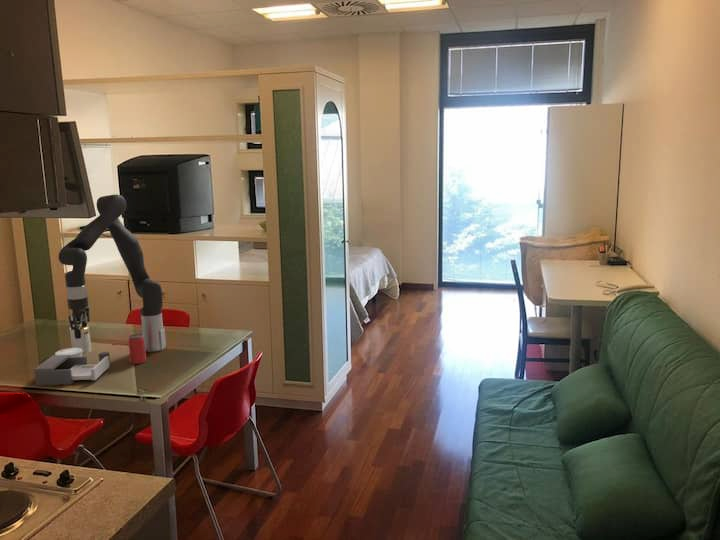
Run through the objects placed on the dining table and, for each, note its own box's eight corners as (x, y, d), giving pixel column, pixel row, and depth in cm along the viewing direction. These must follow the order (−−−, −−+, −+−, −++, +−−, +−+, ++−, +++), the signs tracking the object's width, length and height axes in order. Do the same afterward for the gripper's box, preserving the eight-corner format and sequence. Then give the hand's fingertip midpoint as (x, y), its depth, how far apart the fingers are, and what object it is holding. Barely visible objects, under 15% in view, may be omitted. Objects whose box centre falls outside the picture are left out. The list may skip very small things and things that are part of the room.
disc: (91, 330, 246) (90, 325, 246) (85, 334, 240) (84, 329, 240) (76, 330, 246) (76, 325, 245) (70, 334, 240) (69, 330, 240)
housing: (88, 369, 255) (86, 354, 253) (71, 384, 239) (69, 367, 238) (55, 370, 254) (53, 355, 253) (36, 385, 238) (34, 369, 237)
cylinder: (112, 362, 263) (110, 351, 262) (108, 365, 259) (107, 355, 258) (102, 362, 263) (100, 352, 262) (98, 366, 258) (96, 355, 257)
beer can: (131, 365, 259) (128, 339, 256) (129, 360, 264) (127, 335, 262) (147, 362, 262) (144, 336, 259) (145, 358, 267) (142, 332, 265)
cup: (84, 354, 274) (81, 329, 272) (68, 353, 276) (65, 329, 273) (95, 348, 282) (92, 324, 279) (80, 347, 283) (77, 323, 281)
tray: (109, 366, 254) (108, 356, 253) (95, 380, 239) (93, 369, 238) (76, 367, 254) (75, 357, 253) (59, 381, 239) (58, 370, 238)
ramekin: (64, 358, 270) (62, 347, 269) (88, 358, 269) (87, 347, 268) (51, 367, 259) (49, 355, 258) (76, 367, 258) (74, 355, 257)
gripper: (78, 300, 233) (83, 341, 236) (93, 292, 247) (98, 330, 250) (59, 301, 233) (64, 341, 236) (75, 292, 247) (80, 331, 250)
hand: (81, 335), depth 243 cm, fingers closed on disc, 6 cm apart
